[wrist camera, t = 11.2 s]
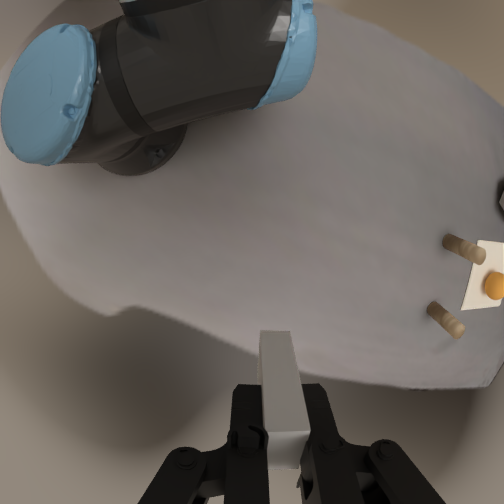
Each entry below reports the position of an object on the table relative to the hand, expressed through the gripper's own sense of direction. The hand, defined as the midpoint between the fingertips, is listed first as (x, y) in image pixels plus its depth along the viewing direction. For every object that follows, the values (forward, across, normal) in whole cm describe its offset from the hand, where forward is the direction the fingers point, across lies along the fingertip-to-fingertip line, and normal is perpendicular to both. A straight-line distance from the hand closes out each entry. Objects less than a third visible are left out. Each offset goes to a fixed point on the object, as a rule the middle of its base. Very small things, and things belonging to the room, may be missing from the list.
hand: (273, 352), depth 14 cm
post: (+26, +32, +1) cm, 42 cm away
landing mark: (+26, +47, -5) cm, 54 cm away
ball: (+24, +47, -6) cm, 53 cm away
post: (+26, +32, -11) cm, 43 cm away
